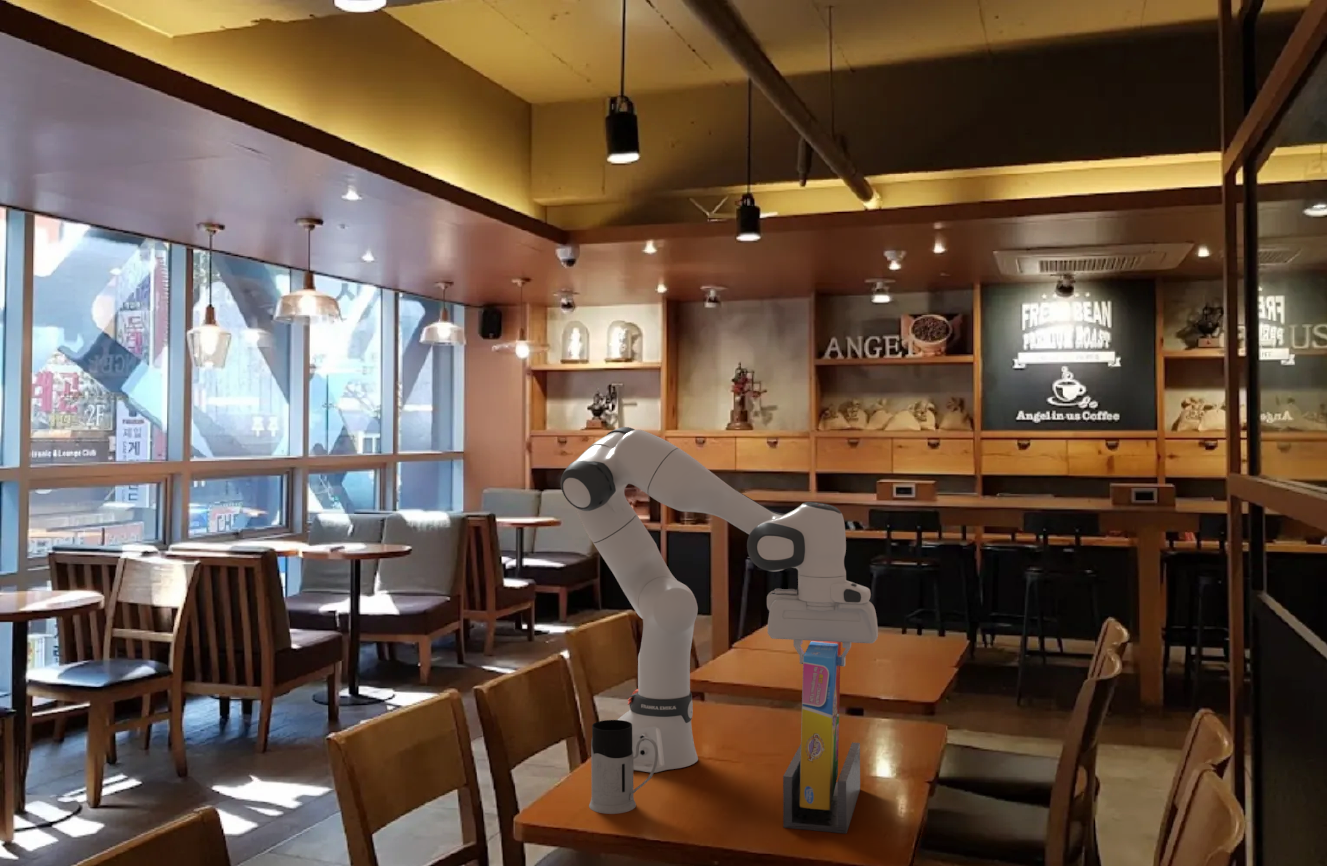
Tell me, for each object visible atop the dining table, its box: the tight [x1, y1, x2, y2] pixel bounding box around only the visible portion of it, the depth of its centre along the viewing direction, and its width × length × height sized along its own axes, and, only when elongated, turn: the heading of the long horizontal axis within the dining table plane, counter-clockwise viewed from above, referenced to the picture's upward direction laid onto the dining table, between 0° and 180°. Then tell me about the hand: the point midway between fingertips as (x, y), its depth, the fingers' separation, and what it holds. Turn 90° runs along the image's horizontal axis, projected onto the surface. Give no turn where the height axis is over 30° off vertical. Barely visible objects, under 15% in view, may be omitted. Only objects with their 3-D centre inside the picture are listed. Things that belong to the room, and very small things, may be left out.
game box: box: [799, 640, 842, 810], centre depth 195 cm, size 21×6×27 cm, turn 167°
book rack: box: [782, 742, 861, 834], centre depth 195 cm, size 11×24×9 cm, turn 164°
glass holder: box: [588, 719, 658, 815], centre depth 195 cm, size 9×14×15 cm, turn 59°
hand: (822, 664), depth 195 cm, fingers closed on game box, 5 cm apart
